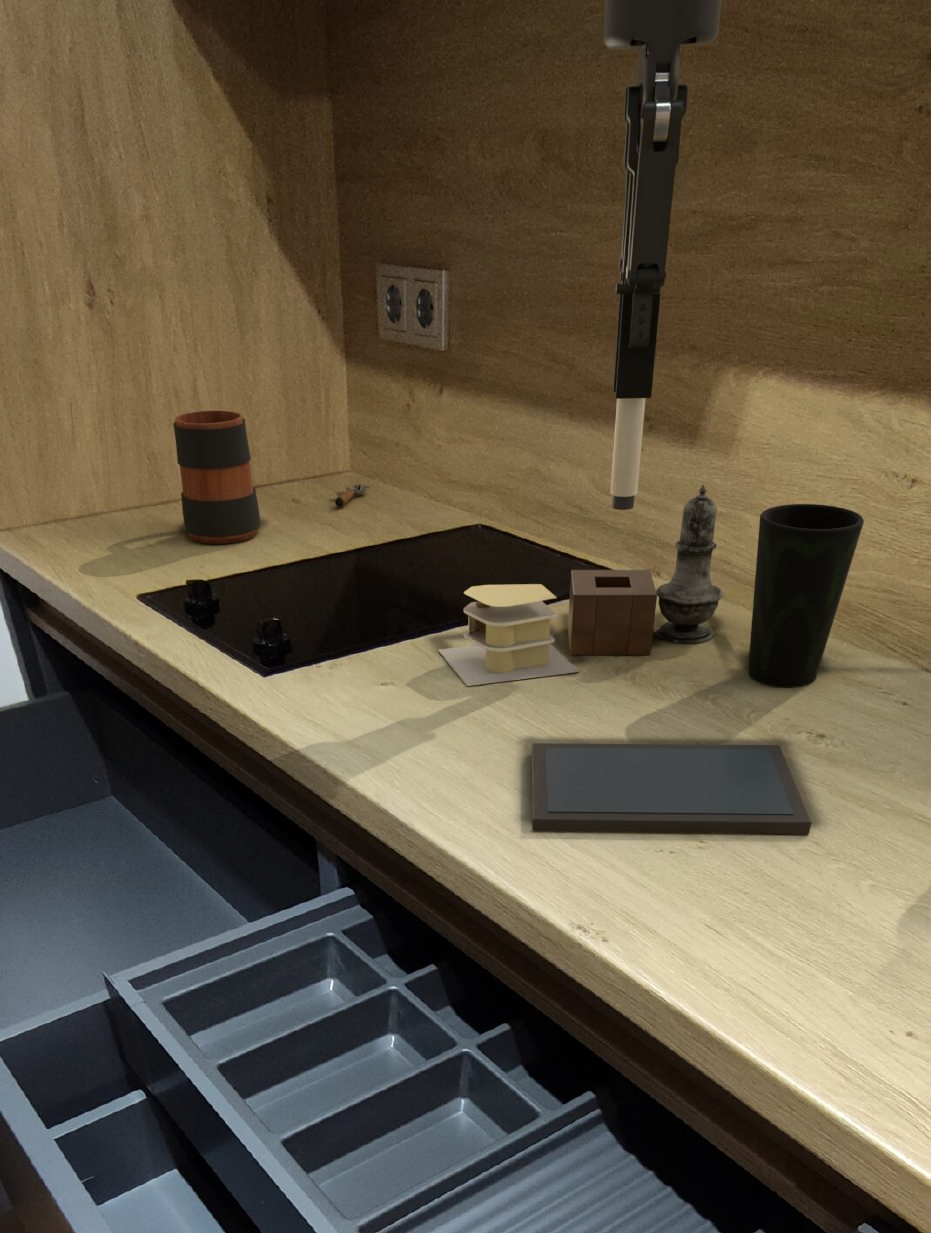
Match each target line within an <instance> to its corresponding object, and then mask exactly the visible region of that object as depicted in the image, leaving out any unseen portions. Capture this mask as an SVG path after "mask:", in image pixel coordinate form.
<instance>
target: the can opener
mask: <svg viewBox="0 0 931 1233" xmlns="http://www.w3.org/2000/svg"><path fill="white" fill-rule="evenodd" d="M361 485H362V484H361V483H357V482H356V483H355V484H354V487H353V488H350V487H345V491H344V492H343V493H340V494H339V495H338V496H337V497H336V498H335V500H334V502H335V506H337V507H338V508H340V507H341V508H342V507H343V506H345V505H346V504H347V503H348V502H349V501H350V500H351V499H353V498H354V496H355V495H356V494H357V493H358V494H364V493H366V492H367V491H368V488H367V487H366V486H364V487H362V486H361Z"/></svg>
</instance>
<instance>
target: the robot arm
mask: <svg viewBox="0 0 931 1233" xmlns="http://www.w3.org/2000/svg"><path fill="white" fill-rule="evenodd" d="M721 9H722V0H605V1H604V17H603V34H602V35H603V36H602V37H603V38H602V40H603V43H604V45H605V47H606V48H608V49H610V50H617V51H618V50H619V51H620V50H621V51H625V50H626V51H629V50H638V52H639V53H638V61H637V71H636V72H637V74H636V82H635V85H632V86H631V85H630V86H627V87H625V89H624V101H623V117H624V119H625V124H626V125H625V138H624V148H623V152H624V153H623V165H624V168H625V169H626V171H625V172H626V173H625V174H626V175H625V188H624V191H625V192H624V205H623V206H624V207H623V222H622V236H621V238H622V240H621V253H620V260H618V261H619V262H618V269H619V273H620V275H619V282H620V283H615V295H619V299H618V300H619V301H618V314H617V328H616V329H617V330H616V342H615V357H614V369H613V372H614V373H613V384H612V385H613V386H612V392H613V393H615V395H614V397H615V400H617V399H629V398H645V399H651V398H652V393H653V380H654V372H655V371H654V370H655V359H656V350H657V338H658V326H659V315H660V304H661V303H660V302H661V293H660V292H661V288H663V287H664V286H665V282H666V278H667V269H666V264H667V254H668V246H669V236H670V235H669V234H670V226H671V216H672V206H673V205H672V204H673V197H674V186H675V177H676V176H675V175H676V167H677V165H678V163H679V159H680V158H679V157H680V156H679V155H680V146H681V145H680V144H681V131H682V120H683V118H684V117H685V115H686V112H687V105H688V94H689V85H688V83H684V84H679V78H680V61H681V56H680V55H681V54H680V53H681V48H694V47H695V48H696V47H703V46H709V45H711V44H712V43H714V41H715V40H716V39H717V37H718V34H719V29H720V20H721V19H720V18H721ZM626 269H627V278H626Z"/></svg>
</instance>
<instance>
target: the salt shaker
mask: <svg viewBox="0 0 931 1233" xmlns="http://www.w3.org/2000/svg"><path fill="white" fill-rule="evenodd" d="M707 491H708V490H707V488H706V487H705V484H702V485H701V487H700V488H699V489H698V492H699V494H698V495H696V496H695V497H692V498H691V499H689V500H688V501H686V503H685V504H684V506H683V509H682V510H683V511H682V518H681V520H682V521H681V526H680V536H679V540H678V541H676V542H675V543H674V547H675V549H677V552H676V561H675V569H674V571H673V574H672V578H671V580H670V581H669V582H667V583H664V584H662V585H660V586H658V587H657V588H656V589H655V590H656V593H657V598H658V607H659V610H660V613H661V615H662V616H663V617H664V618H665V619H666V620H667V621H665V622H663V623H662V624H660V625H658V626H657V627H656V628H655V630H654V634H655V636H656V637H657V638H659V639H661V640H663V641H665V642H669V643H674V644H684V645H685V644H686V645H688V644H689V645H690V644H691V645H692V644H699V643H704V642H705V643H706V642H708V641H710V640H712V639H713V638H714V636H715V631H714V630H713V629H712V628H711V627H710V626H709V625H708V624H706V622H707V621H708V620H709V619H711V618H712V616H713V615H714V614H715V612H716V611H717V609H718V606H719V601H720V600H721V599H722V598H723V597H724V591H723V590H722V589H721V587H718V586H717V585H715V584H713V583H712V581H711V562H712V558H713V556H712V555H713V552H714V550H716V549H717V546H718V545H717V543H716V542H715V541H714V534H715V526H716V521H717V513H718V505H717V503H716V502H715V501H714V500H713V499H712V498H710V497H708V495H706V493H707Z"/></svg>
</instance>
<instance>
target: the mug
mask: <svg viewBox="0 0 931 1233" xmlns="http://www.w3.org/2000/svg"><path fill="white" fill-rule="evenodd" d="M172 426H173V431H174V439H175V447H176V460H177V465H179V472H180V480H181V487H182V491H181V493H180V498H181V499H180V500H181V509H182V517H183V524H184V530H185V532H186V533H187V534H188V535H189V537H190V539H191V540H193V541H195V542H196V543H200V544H206V545H229V544H237V543H241V542H245V541H248V540H250V539H253V538H255V537H256V536H257V534H258V532H259V528H260V527H261V515H260V507H259V502H258V496H257V490H256V488H255V487H254V485H253V484H254V483H253V478H252V470H251V464H250V461H251V459H252V457H251V451H250V446H249V441H248V434H247V427H246V426H247V425H246V420H245V419H244V418H243V415H242V413H239V412H236V411H231V410H199V411H192V412H186V413H183V414H180V415H178V416H176V417H175V418H174V422H173V425H172Z"/></svg>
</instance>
